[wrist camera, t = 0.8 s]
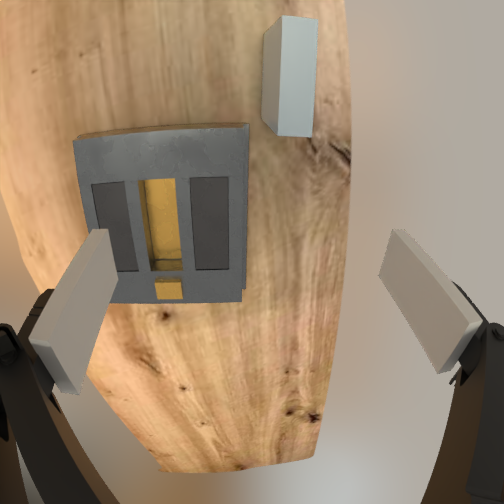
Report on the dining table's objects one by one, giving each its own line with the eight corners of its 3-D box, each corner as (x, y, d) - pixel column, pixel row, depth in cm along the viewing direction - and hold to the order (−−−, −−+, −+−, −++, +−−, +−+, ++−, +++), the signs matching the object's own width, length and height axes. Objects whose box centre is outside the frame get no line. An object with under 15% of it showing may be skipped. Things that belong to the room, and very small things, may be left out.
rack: (80, 135, 28) (64, 143, 25) (248, 123, 30) (252, 128, 26) (109, 287, 38) (101, 306, 35) (245, 284, 40) (247, 305, 37)
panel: (263, 34, 25) (282, 15, 16) (289, 36, 25) (318, 19, 17) (260, 118, 30) (277, 135, 21) (285, 119, 30) (311, 137, 21)
